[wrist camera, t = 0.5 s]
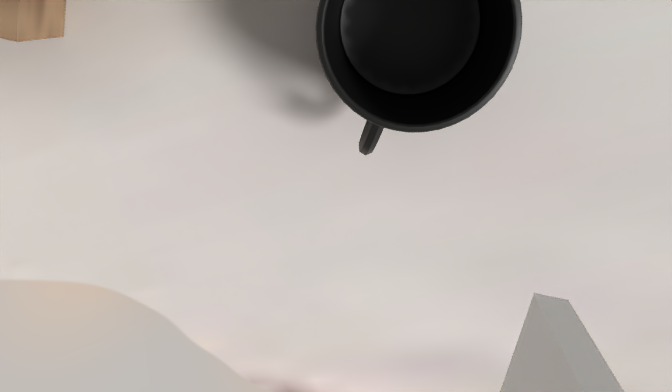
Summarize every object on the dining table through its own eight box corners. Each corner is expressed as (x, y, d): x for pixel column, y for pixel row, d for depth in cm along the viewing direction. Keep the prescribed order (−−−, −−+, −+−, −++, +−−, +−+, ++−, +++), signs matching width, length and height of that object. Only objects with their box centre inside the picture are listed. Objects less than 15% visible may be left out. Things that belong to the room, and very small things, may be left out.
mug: (296, 108, 37) (270, 140, 29) (364, -86, 34) (358, -116, 25) (432, 161, 38) (447, 207, 29) (516, -25, 34) (561, -33, 25)
